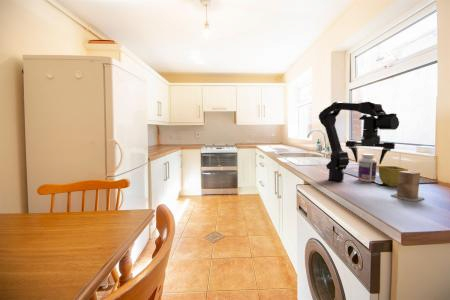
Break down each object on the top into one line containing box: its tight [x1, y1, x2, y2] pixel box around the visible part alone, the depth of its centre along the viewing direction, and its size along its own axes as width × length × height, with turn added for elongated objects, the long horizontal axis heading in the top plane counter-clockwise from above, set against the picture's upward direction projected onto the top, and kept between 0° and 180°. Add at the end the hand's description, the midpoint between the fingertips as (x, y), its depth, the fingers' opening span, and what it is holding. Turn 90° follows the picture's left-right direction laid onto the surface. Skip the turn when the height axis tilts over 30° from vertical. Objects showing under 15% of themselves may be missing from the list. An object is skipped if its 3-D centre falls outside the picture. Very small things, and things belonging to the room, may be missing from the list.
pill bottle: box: [357, 153, 378, 183], centre depth 120 cm, size 8×8×14 cm
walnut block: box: [396, 170, 421, 199], centre depth 90 cm, size 5×5×10 cm
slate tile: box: [390, 193, 425, 203], centre depth 91 cm, size 8×8×1 cm
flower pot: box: [378, 165, 409, 187], centre depth 111 cm, size 9×9×9 cm
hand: (367, 163), depth 104 cm, fingers open, 9 cm apart
